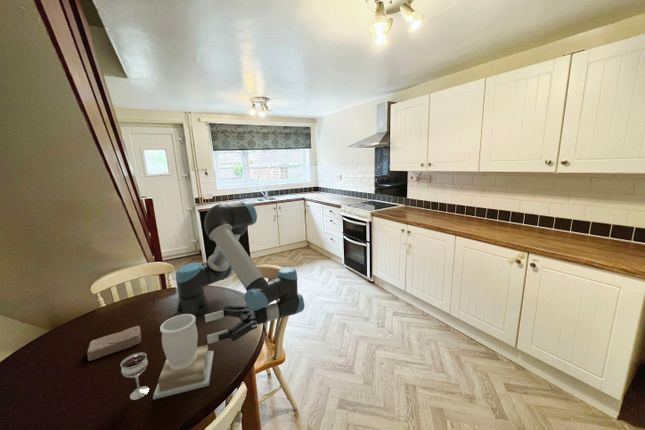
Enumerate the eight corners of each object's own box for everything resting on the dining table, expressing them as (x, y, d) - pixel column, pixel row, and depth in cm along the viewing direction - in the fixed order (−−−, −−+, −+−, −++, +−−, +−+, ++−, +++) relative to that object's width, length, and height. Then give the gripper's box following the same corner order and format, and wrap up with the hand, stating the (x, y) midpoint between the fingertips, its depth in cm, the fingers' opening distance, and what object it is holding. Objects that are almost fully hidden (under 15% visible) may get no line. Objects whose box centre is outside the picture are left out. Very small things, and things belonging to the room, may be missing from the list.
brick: (88, 362, 95) (85, 351, 94) (91, 350, 102) (89, 339, 101) (141, 344, 105) (140, 334, 104) (141, 334, 111) (139, 324, 110)
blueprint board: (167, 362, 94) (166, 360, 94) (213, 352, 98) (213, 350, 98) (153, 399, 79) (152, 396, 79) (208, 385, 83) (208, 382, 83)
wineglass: (126, 390, 82) (120, 358, 80) (151, 380, 86) (146, 349, 84) (125, 406, 77) (119, 372, 74) (152, 394, 80) (147, 361, 78)
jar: (187, 347, 94) (183, 310, 92) (206, 356, 90) (202, 317, 87) (158, 367, 85) (152, 327, 82) (178, 378, 81) (172, 335, 78)
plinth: (170, 362, 93) (169, 352, 92) (208, 354, 96) (207, 344, 96) (159, 391, 80) (158, 380, 80) (204, 380, 84) (203, 370, 84)
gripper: (275, 339, 88) (209, 360, 79) (258, 305, 110) (205, 319, 101) (274, 319, 87) (207, 339, 78) (257, 289, 109) (203, 302, 99)
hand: (206, 328), depth 89 cm, fingers open, 13 cm apart
